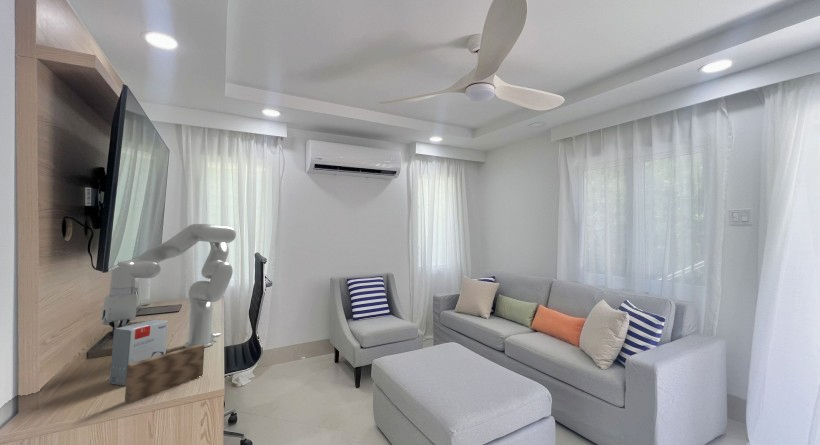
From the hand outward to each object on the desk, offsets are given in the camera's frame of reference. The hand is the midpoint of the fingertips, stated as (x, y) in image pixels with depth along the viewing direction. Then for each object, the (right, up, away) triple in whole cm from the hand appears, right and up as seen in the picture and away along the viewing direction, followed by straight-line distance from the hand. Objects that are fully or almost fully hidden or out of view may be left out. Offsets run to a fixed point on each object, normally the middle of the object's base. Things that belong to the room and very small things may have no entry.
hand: (117, 337), depth 132 cm
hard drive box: (+14, -13, -7) cm, 21 cm away
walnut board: (+32, -13, -15) cm, 37 cm away
